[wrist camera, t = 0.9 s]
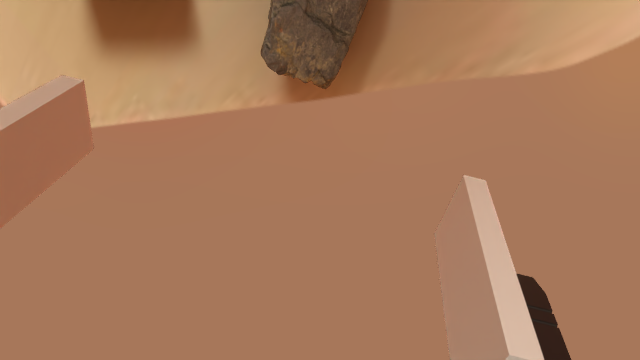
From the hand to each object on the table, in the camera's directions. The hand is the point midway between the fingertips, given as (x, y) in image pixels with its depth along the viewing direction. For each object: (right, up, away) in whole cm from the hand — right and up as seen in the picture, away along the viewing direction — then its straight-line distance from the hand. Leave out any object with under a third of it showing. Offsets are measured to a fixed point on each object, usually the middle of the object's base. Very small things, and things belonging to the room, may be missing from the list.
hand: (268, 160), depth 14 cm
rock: (+3, +17, +20) cm, 26 cm away
